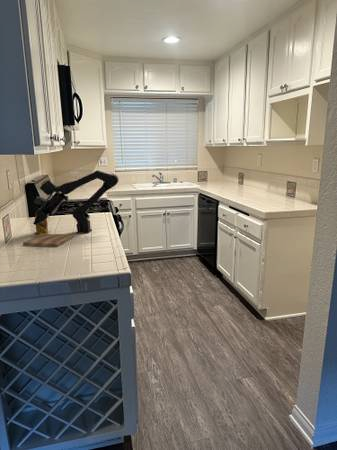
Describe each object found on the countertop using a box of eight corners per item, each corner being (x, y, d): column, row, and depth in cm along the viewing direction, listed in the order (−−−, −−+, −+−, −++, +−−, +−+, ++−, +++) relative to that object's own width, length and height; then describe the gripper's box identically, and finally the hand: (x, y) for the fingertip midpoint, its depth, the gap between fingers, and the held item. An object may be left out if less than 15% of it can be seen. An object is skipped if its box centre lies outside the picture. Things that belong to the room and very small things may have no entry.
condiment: (47, 235, 169) (44, 213, 166) (31, 236, 168) (28, 214, 165) (50, 231, 176) (47, 210, 173) (34, 232, 175) (32, 211, 172)
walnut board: (73, 237, 163) (73, 234, 162) (57, 246, 147) (56, 243, 147) (42, 236, 166) (42, 233, 166) (23, 245, 151) (23, 242, 151)
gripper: (48, 189, 175) (30, 209, 177) (37, 193, 157) (17, 216, 159) (64, 202, 178) (46, 221, 180) (54, 208, 160) (35, 230, 162)
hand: (36, 222), depth 170 cm, fingers open, 9 cm apart
